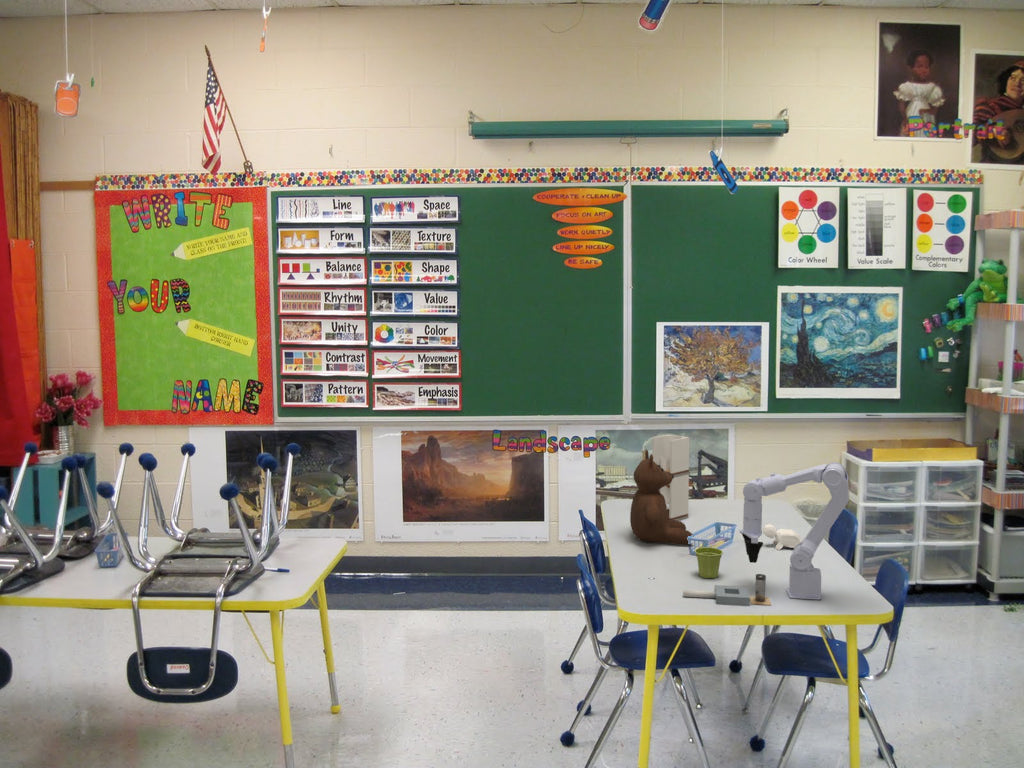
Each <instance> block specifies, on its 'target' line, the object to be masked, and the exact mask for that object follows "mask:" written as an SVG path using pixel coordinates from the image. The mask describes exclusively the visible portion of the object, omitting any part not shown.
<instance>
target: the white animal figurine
mask: <svg viewBox="0 0 1024 768" xmlns="http://www.w3.org/2000/svg"><path fill="white" fill-rule="evenodd" d="M762 534H764V536H765V537H767V538H770V539H774V538H775V539H774V540H773V541H772V545H775V550H776V551H780V550H781V549H782V548H784V547H785V548H788V549H789V548H791V549H794V548H795V546H796V545H798V544H800V543H801V542H802V541H803V540H802V539H801V536H800V535H799V534H798V533H797V532H796V531H795V530H794V529H788V528H787V529H786V528H779V529H777V528H776V526H775V525H774V524H771V523H767V524H765V525H764V526H763V528H762Z"/></svg>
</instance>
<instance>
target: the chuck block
mask: <svg viewBox="0 0 1024 768" xmlns="http://www.w3.org/2000/svg"><path fill="white" fill-rule="evenodd" d="M682 595H683V596H682V597H686V598H687V597H688V598H703V599H704V598H705V599H715V601H716V605H732V606H733V605H734V606H749V607H750V606H751V602H750V594H749V589H748V586H741V585H725V584H724V585H722V584H719V585H718V584H714V591H710V590H707V591H706V590H692V589H691V590H688V589H685V590H684V589H683V590H682Z"/></svg>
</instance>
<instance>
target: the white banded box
mask: <svg viewBox="0 0 1024 768" xmlns="http://www.w3.org/2000/svg"><path fill="white" fill-rule="evenodd" d="M651 437H652V439H651V454H652V455H653V461H654V462H655V463H656V464H657V465H660V466H661V468H663V469H664V472H666V473H669V474H671V475H673V476H674V478H673V479H672V482H671V483H670V484H668V485H665V486H664V487H662V488H660V489H659V492H660V493H661V494H662V495H663V496H664V498H665V502H666V505H669V508H667V512H668V520H677V521H680V522H681V521H684V520H686V519H689V489H690V487H689V486H690V483H689V480H690V478H689V477H690V437H688V436H683V435H677V434H676V435H675V434H671V433H670V434H664V435H659V436H657V435H656V436H654V437H653V436H651Z"/></svg>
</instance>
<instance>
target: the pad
mask: <svg viewBox="0 0 1024 768" xmlns="http://www.w3.org/2000/svg"><path fill="white" fill-rule="evenodd" d="M749 596H750V595H749ZM752 605H753V606H770V607H771V606H772V602H771V600H770V597H769V596H768V597H767V596H765V602H757V601H755V596H750V606H752Z"/></svg>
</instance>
